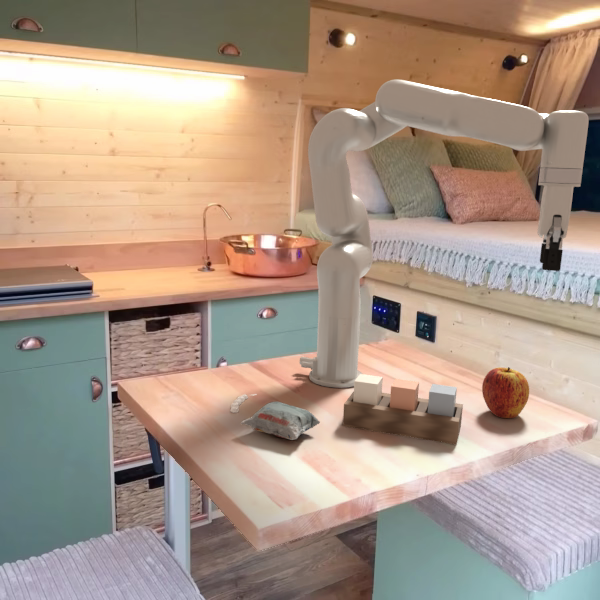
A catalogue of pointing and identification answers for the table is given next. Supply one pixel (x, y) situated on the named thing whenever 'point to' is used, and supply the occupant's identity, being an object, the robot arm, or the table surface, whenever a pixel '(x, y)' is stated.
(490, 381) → the apple
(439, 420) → the frame block
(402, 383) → the key terracotta
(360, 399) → the key cream
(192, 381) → the table surface
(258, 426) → the packaged food
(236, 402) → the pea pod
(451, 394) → the grey block
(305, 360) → the robot arm
